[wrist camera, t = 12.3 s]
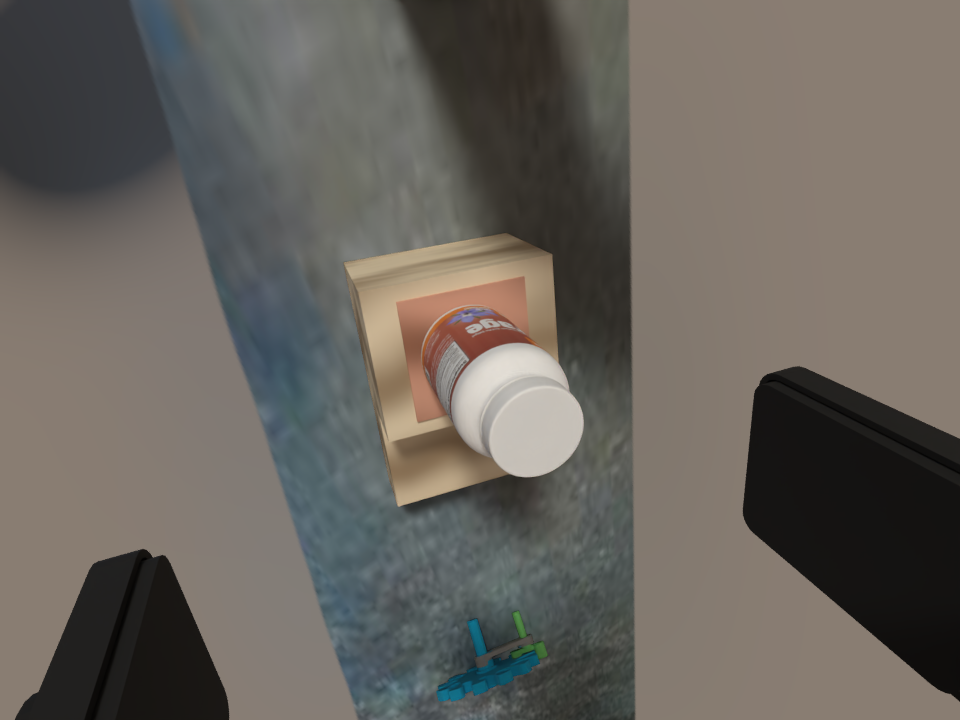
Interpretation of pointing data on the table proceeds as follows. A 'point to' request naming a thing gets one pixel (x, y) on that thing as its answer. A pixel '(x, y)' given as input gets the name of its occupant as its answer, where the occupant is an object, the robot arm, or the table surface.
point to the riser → (401, 331)
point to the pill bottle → (502, 391)
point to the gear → (494, 663)
